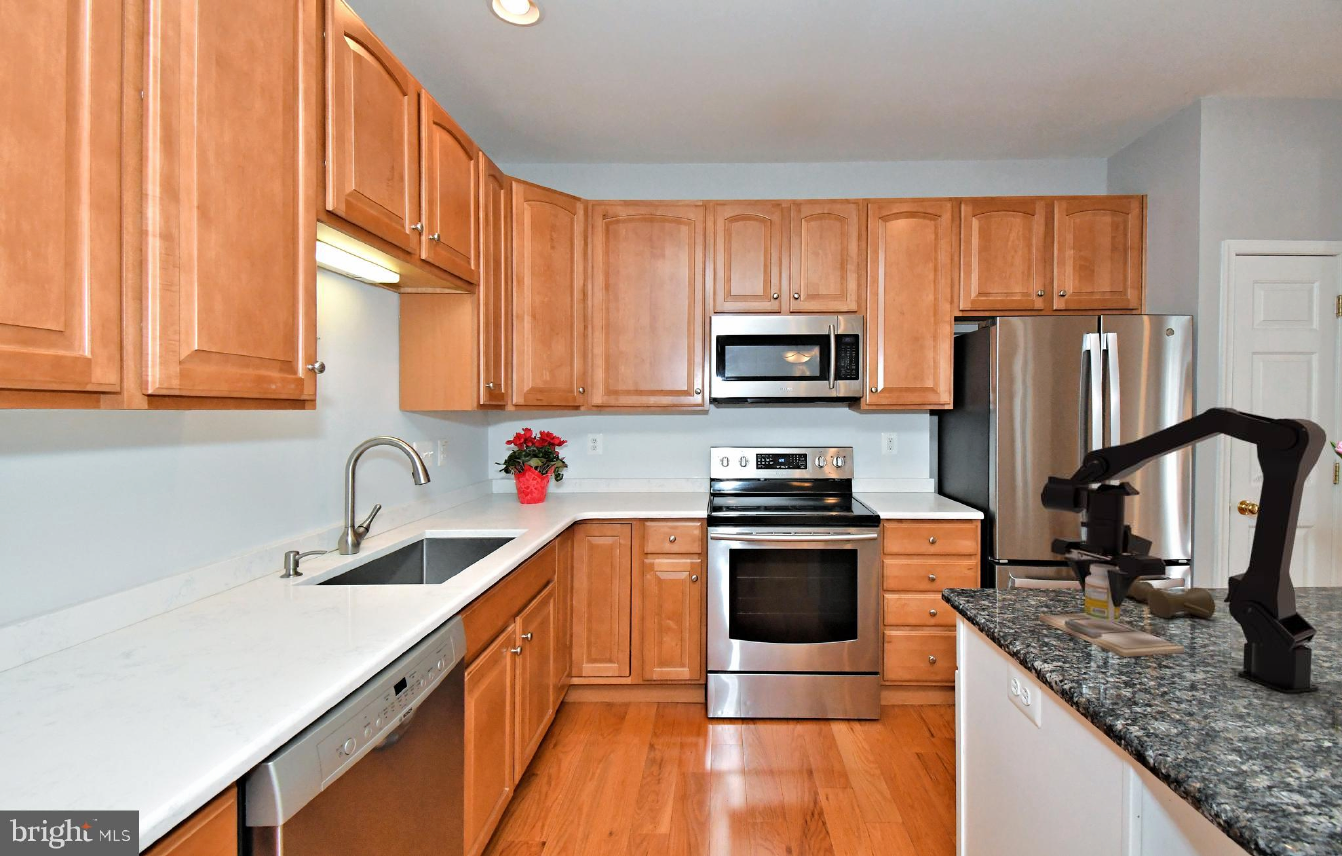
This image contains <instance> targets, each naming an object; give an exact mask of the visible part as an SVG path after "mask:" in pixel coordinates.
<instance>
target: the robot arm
mask: <svg viewBox="0 0 1342 856" xmlns="http://www.w3.org/2000/svg"><path fill="white" fill-rule="evenodd" d="M1222 434H1223V435H1226V436H1229V437H1231V438H1234V439H1237V440H1240V441H1243V442H1247V443H1250V444H1253V445H1256V454H1257V455H1256V457H1257V461H1258V464H1259V467H1260V470H1261V474H1262V484H1261V491H1260V496H1259V501H1258V502H1259V503H1258V508H1257V509H1258V510H1257V514H1256V522H1255V527H1254V533H1253V539H1252V545H1251V550H1250V556H1249V557H1250V558H1249V562H1248V567H1247V569H1246V571H1245V572H1243V573H1240V574H1235V575H1231V576H1229V577H1228V581H1227V585H1228V589H1227V590H1228V591H1227V596H1226V597H1225V599H1223V603H1228V611H1229V614H1230V616H1231V617H1232V618H1233V620H1235V621H1236V623H1237V624H1239V625H1240V627H1241V630H1242V632H1243V635H1244V638H1245V640H1246V642H1245V643H1243V658H1242V659H1243V661H1242V668H1243V670H1238V671H1237V675H1238V676H1240V677H1243V678H1245V679H1249V680H1250V681H1254V682H1256V683H1258V684H1261V685H1264V686H1265V687H1269V688H1271V689H1274V690H1277V691H1279V692H1282V693H1285V694H1291V693H1301V692H1302V693H1303V692H1313V691H1319V690H1320V689H1319V687H1320V686H1318V685H1316V684H1313V683H1311V681H1312V679H1311V678H1312V676H1311V675H1312V658H1313V657H1312V656H1313V655H1312V654H1313V650H1312V648H1311V647H1307V646H1306V645H1305V644H1307V643H1308V644H1309V643H1310V642H1311V643H1312V640H1313V639H1314V637H1315V636H1316V634H1317V632H1318V631H1317V629H1316V628H1315V627H1314V626H1313V625H1311V623H1309V621H1307V619H1305V618H1304V617H1303V616H1302V615H1301V614H1300V613H1299V612H1298V611H1297V602H1296V590H1295V588H1294V584H1293V582H1292V579H1291V578H1292V577H1291V574H1290V567H1291V564H1292V562H1291V561H1292V556H1293V549H1294V545H1295V538H1296V534H1297V533H1296V532H1297V529H1298V528H1297V527H1298V523H1299V521H1298V520H1299V514H1300V510H1301V503H1302V498H1303V493H1304V492H1303V491H1304V488H1305V487H1304V486H1305V482H1306V480H1307V478H1308V477H1309V475H1310V473H1311V472H1312V470H1313V469H1314V467H1315V466H1316V465H1317V463H1318V461H1319V458H1320V457H1321V454H1322V451H1323V449H1324V447H1325V445H1326V442H1327V434H1326V431H1325V429H1323V428H1322V427H1321V426H1320V424H1318V423H1316V422H1315V421H1312V420H1311V419H1305V418H1274V417H1269V416H1265V415H1264V416H1263V415H1258V414H1253V413H1250V412H1245V411H1240V410H1237V409H1235V408H1232V407H1224V406H1223V407H1220V406H1219V407H1218V406H1217V407H1216V406H1214V407H1211V408H1209V409H1208V408H1207V409H1206V410H1205V411H1203V412H1202V413H1200V414H1197V415H1195V416H1193V417H1190V418H1187V419H1185V420H1183V421H1180V422H1178V423H1176V424H1174V425H1170V426H1168V427H1166V428H1163V429H1161V430H1158V431H1156V432H1153V433H1151V434H1149V435H1146V436H1144V437H1141V438H1139V439H1137V440H1134V441H1131V442H1127V443H1122V444H1117V445H1112V446H1106V447H1104V448H1103V447H1102V448H1098V449H1094V450H1091V451H1089V452H1087V453H1085V454H1084V456H1083V460H1082V465H1081V466H1080V467H1079V468H1078V469H1077V470H1076V471H1075V473H1074V474H1073V475H1072V476H1071V477H1064V476H1062V475H1048V476H1047V482H1046V483H1045V484H1044V486H1043V488H1042V492H1040V501H1041V505H1042V506H1043V508H1044V509H1045V510H1048V511H1055V512H1056V511H1058V512H1063V513H1068V514H1069V513H1071V514H1080V513H1082V512H1083V511H1084V510H1086V516H1085V517H1086V520H1080V527H1082V528H1085V539H1082V538H1077V537H1056V538H1054V539H1053V540H1052V542H1050V543H1051V545H1050V546H1051V547H1050V550H1051V551H1050V552H1051V553H1053V554H1055V555H1056V554H1057V555H1059V556H1063V560H1064V561H1066V562H1067V564H1068V566H1069V567H1070V569H1071V570H1072V572H1073V574H1074V576H1075V577H1076V580H1077V582H1078V584H1079V585H1080V588H1081V589H1082V591H1083V594H1084V595H1085V579H1086V577H1087V576H1089V575H1091V574H1092V573H1091V572H1090V565H1091V564H1100V562H1101V561H1105V562H1108V563H1112V564H1115V565H1116V566H1115V567H1116V569H1114V570H1107V574H1108V580H1109V586H1110V592H1111V598H1112V602H1113V605H1114V607H1120V608H1121V607H1122V604H1123V603H1124V600H1125V598H1126V597H1125V596H1126V594H1127V592H1128V590H1129V589H1130V587H1131V585H1132V584H1133V582H1134V581H1135V580H1136V579H1137V578H1138V579H1139V578H1140V577H1149V576H1150V577H1151V576H1153V577H1154V576H1166V573H1167V572H1166V570H1167V569H1166V568H1167V566H1166V565H1167V564H1166V562H1165V561H1164V560H1163V559H1162V558H1161V557H1157V556H1153V555H1149V554H1150V551H1151V549H1152V545H1153V541H1152V540H1149V539H1147V538H1146V537H1145V538H1144V537H1142V536H1139V535H1136V534H1134V533H1132V527H1131V524H1127V523H1125V521H1126V520H1125V517H1126V516H1125V514H1126V497H1133V496H1134V497H1135V496H1139V495H1140V491H1139V490H1138V489H1136V488H1135V487H1134V486H1133V485H1131V484H1132V483H1130V481H1122V482H1120V483H1119V484H1110V483H1106V482H1109V481H1120V480H1123V479H1126V478H1127V477H1129V476H1131V475H1132V474H1134V473H1136V472H1138V471H1140V470H1141V469H1143V467H1144V466H1146V465H1147V464H1148V463H1150V462H1152V461H1154V460H1156V459H1159V458H1162V457H1164V456H1167V455H1170V454H1172V453H1175V452H1178V451H1181V450H1182V449H1186V448H1189V447H1191V446H1193V445H1196V444H1199V443H1201V442H1204V441H1207V440H1209V439H1212V438H1214V437H1218V436H1219V435H1222ZM1098 484H1099V485H1098ZM1090 485H1098V486H1097V487H1091V486H1090ZM1065 555H1066V556H1065Z"/></svg>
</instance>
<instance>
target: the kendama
mask: <svg viewBox="0 0 1342 856" xmlns="http://www.w3.org/2000/svg"><path fill="white" fill-rule="evenodd" d="M1125 598H1135V599H1136V600H1137V601H1140V602H1147V605H1148V608H1149V610H1150V612H1151V613H1152V614H1153V615H1154V614H1155V615H1154V616H1157V617H1158V616H1159V618H1161V617H1162V619H1168V618H1170V617H1173V615H1174V614H1176V613H1189V614H1191V615H1193V616H1195V617H1197V616H1198V618H1201V619H1205V618H1206V619H1210V618H1212V617H1213V615H1214V614H1215V610H1216V605H1215V600H1214V598H1213V595H1212V594H1211V593H1210V592H1209V591H1208V590H1207V589H1204V588H1202V587H1191V588H1190V589H1188V590H1187V591H1186V592H1185V593H1183V594H1172V593H1169V592H1167V591H1164V590H1162V589H1156V588H1155V587H1154V586H1153V584H1152V583H1150V582H1148V581H1145V580H1144V581H1143V580H1142V581H1140V579H1139V578H1137V579H1136V580H1135V581H1134V582H1133V584H1132V585H1131V587H1130V589H1129V590H1128V592H1127V594H1126V596H1125ZM1206 619H1205V620H1206Z"/></svg>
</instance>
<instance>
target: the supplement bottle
mask: <svg viewBox="0 0 1342 856" xmlns="http://www.w3.org/2000/svg"><path fill="white" fill-rule="evenodd" d="M1114 569H1116V566H1115V565H1112V564H1111V565H1110V564H1106V563H1105V564H1104V563H1099V564H1091V565H1090V572H1091V573H1092V574H1091V575H1089V576H1087V577H1086V579H1085V594H1084V613H1085V616H1086V617H1088V618H1090V619H1093V620H1096V621H1101V622H1109V623H1113V622H1118V623H1119V621H1120V620H1121V606H1120V607H1114V605H1113V602H1112V598H1111V592H1110V586H1109V580H1108V574H1107V570H1114Z"/></svg>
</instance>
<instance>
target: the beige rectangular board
mask: <svg viewBox="0 0 1342 856" xmlns="http://www.w3.org/2000/svg"><path fill="white" fill-rule="evenodd" d="M1038 621H1040V622H1042V623H1045V624H1047V625H1050V626H1052V627H1054V628H1057V629H1058V630H1060V631H1064V632H1066V633H1068V634H1070V635H1072V636H1075V637H1077V638H1079V639H1082V640H1084V641H1086V642H1089V643H1091V644H1094V645H1096V646H1098V647H1101V648H1103V649H1105V650H1108V651H1110V652H1112V653H1114V654H1116V655H1119V656H1121V657H1124V658H1128V657H1129V658H1131V657H1142V656H1143V657H1144V656H1154V655H1166V654H1167V655H1169V654H1181V653H1185V647H1183V646H1180V645H1178V644H1176V643H1173V642H1171V641H1168V640H1165V639H1163V638H1160V637H1157V636H1155V635H1152V634H1149V633H1148V632H1144V631H1142V630H1139V629H1136V628H1133V627H1131V626H1128V625H1125V624H1123V623H1120V622H1119V621H1118V622H1113V623H1109V622H1101V621H1096V620H1093V619H1090V618H1088V617H1086V616H1085V612H1083V613H1082V612H1081V613H1067V614H1065V613H1063V614H1051V615H1050V614H1049V615H1046V614H1045V615H1039V616H1038Z"/></svg>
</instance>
